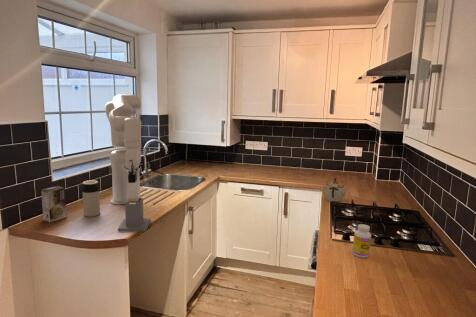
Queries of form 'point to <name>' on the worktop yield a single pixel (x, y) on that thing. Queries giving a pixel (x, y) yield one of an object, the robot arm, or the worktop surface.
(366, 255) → the supplement bottle
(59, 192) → the coffee box
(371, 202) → the worktop surface
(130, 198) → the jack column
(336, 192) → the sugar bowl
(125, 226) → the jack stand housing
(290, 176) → the worktop surface
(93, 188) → the travel mug
